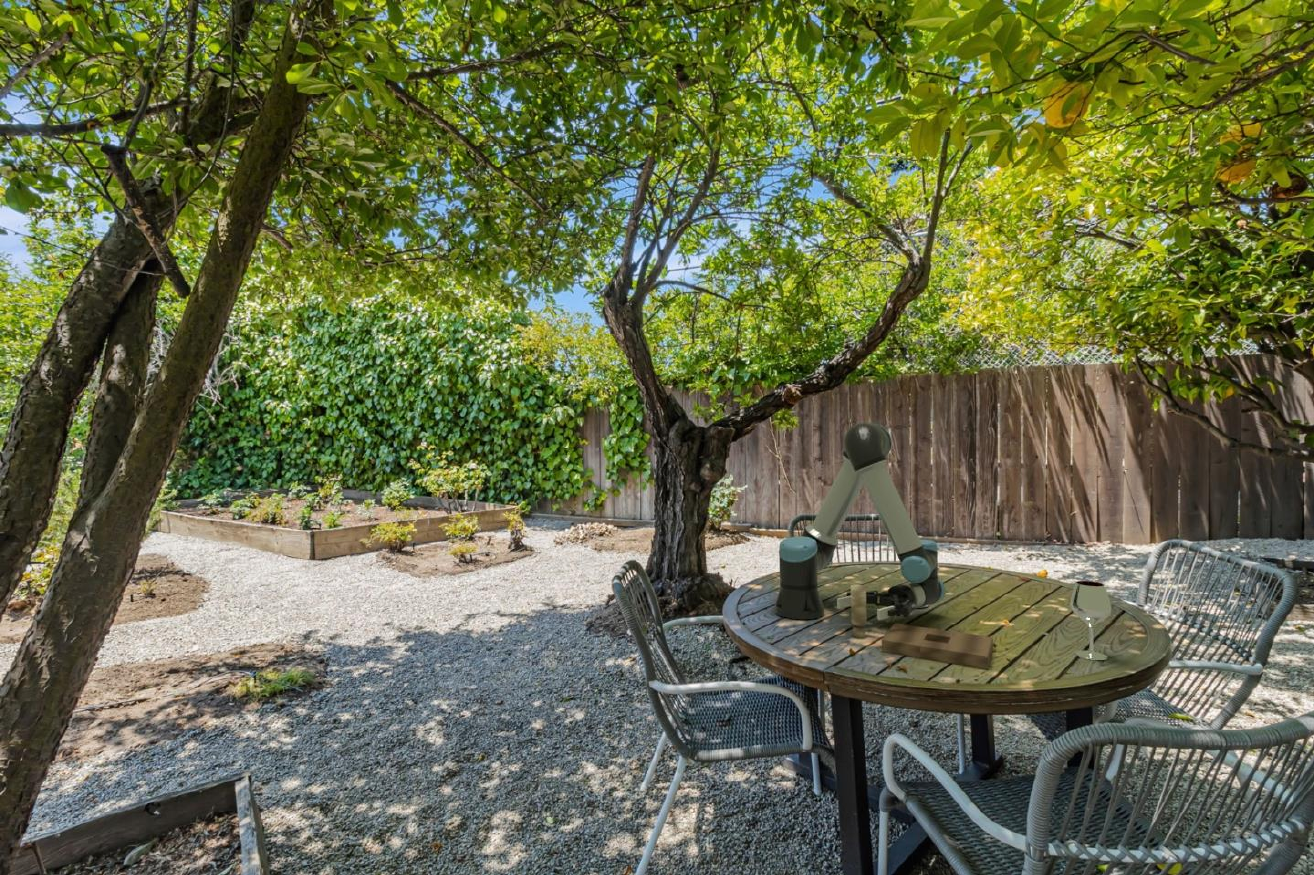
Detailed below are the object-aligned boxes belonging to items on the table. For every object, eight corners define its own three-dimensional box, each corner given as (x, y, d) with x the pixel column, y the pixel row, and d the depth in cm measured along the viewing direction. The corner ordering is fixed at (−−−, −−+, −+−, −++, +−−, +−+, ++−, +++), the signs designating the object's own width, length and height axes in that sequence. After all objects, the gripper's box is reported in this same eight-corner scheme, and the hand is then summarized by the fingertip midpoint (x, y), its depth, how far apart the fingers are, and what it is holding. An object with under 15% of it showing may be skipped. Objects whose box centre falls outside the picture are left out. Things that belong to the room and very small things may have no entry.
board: (881, 651, 153) (881, 639, 153) (895, 633, 166) (894, 623, 166) (987, 669, 139) (987, 656, 139) (992, 648, 153) (992, 637, 153)
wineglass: (1114, 655, 146) (1112, 582, 147) (1110, 665, 140) (1108, 589, 141) (1074, 648, 152) (1072, 578, 152) (1069, 657, 146) (1067, 584, 146)
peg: (849, 637, 164) (848, 586, 164) (853, 633, 167) (852, 583, 168) (865, 639, 162) (864, 588, 162) (869, 635, 165) (867, 585, 165)
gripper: (945, 619, 164) (897, 634, 153) (870, 600, 185) (823, 612, 174) (944, 593, 164) (896, 605, 153) (869, 576, 185) (822, 586, 174)
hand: (857, 609), depth 164 cm, fingers open, 13 cm apart
